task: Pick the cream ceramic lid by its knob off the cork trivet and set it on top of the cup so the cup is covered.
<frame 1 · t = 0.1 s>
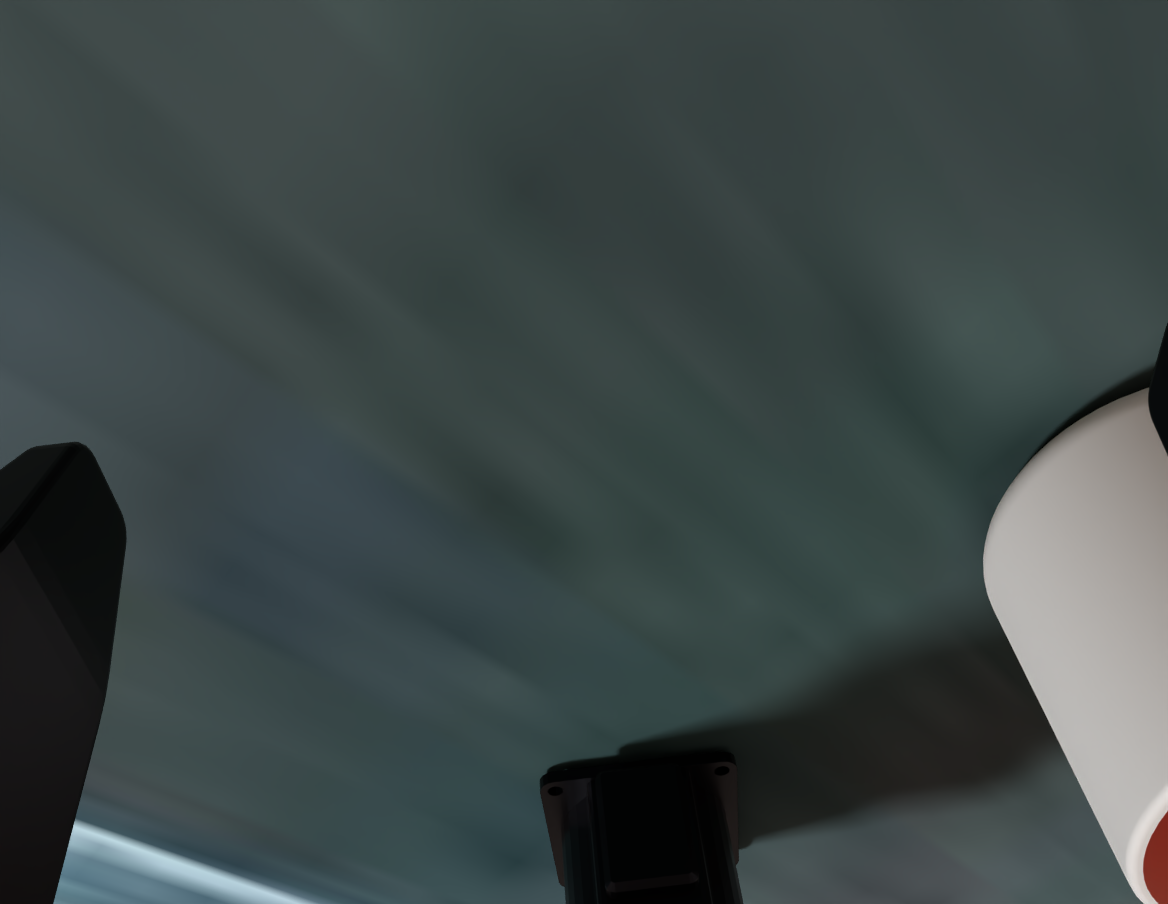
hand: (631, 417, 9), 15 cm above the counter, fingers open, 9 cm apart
cup: (1143, 496, 31), on the counter
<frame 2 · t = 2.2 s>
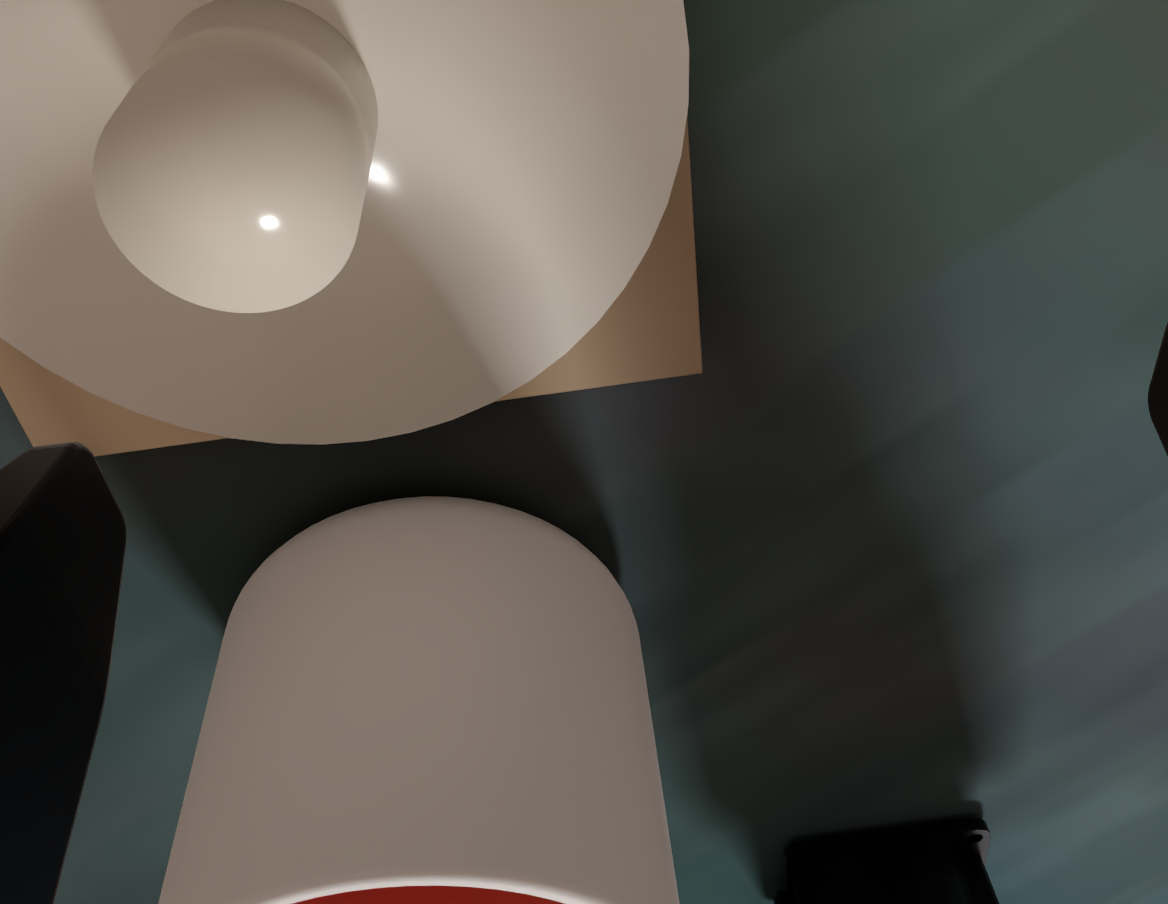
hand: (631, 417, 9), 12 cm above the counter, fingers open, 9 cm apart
trivet: (279, 79, 19), on the counter
cup: (438, 616, 28), on the counter
lid: (274, 91, 19), point 1 cm above the counter, touching trivet
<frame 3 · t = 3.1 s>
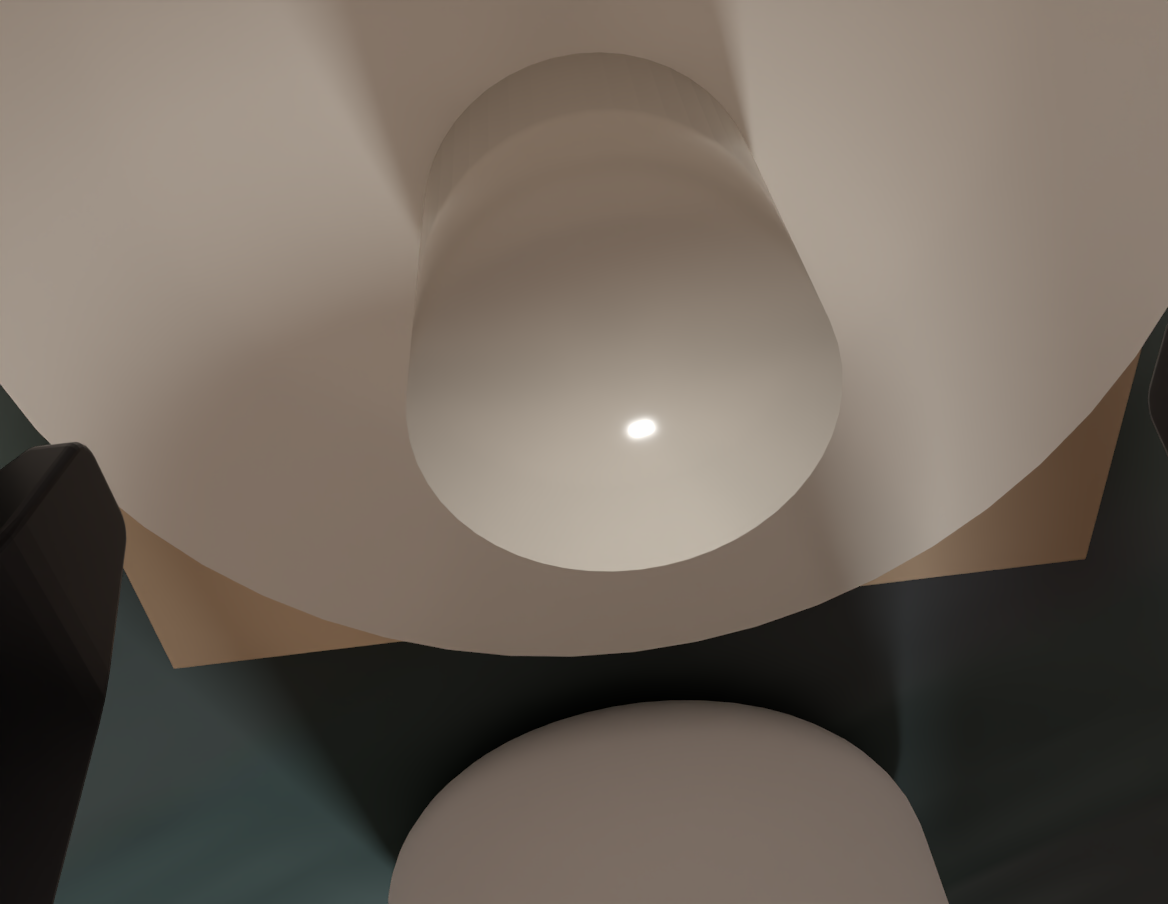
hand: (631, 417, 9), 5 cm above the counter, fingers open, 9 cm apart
trivet: (583, 167, 13), on the counter
cup: (649, 822, 22), on the counter
lid: (586, 188, 12), point 1 cm above the counter, touching trivet
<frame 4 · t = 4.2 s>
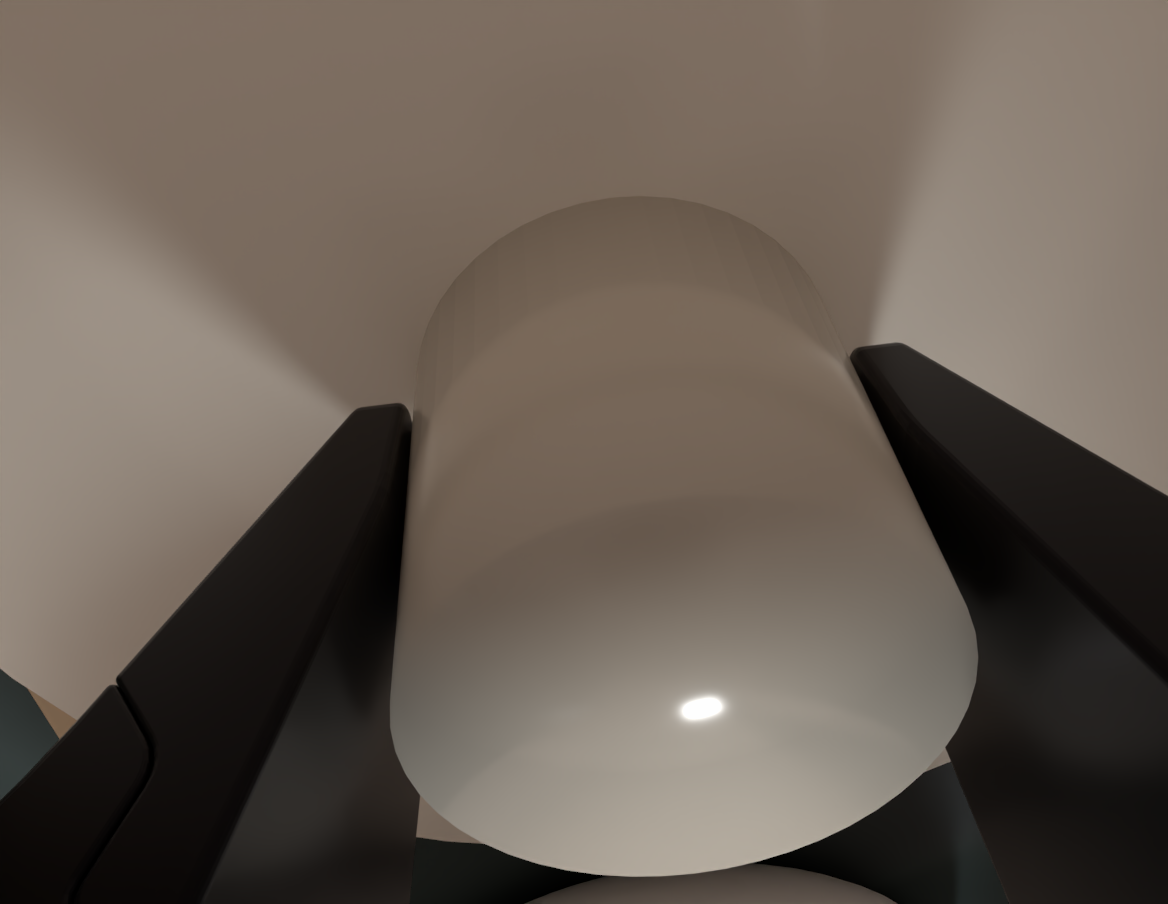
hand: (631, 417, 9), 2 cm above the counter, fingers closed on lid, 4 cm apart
trivet: (610, 305, 11), on the counter
lid: (617, 339, 10), point 1 cm above the counter, touching gripper, trivet
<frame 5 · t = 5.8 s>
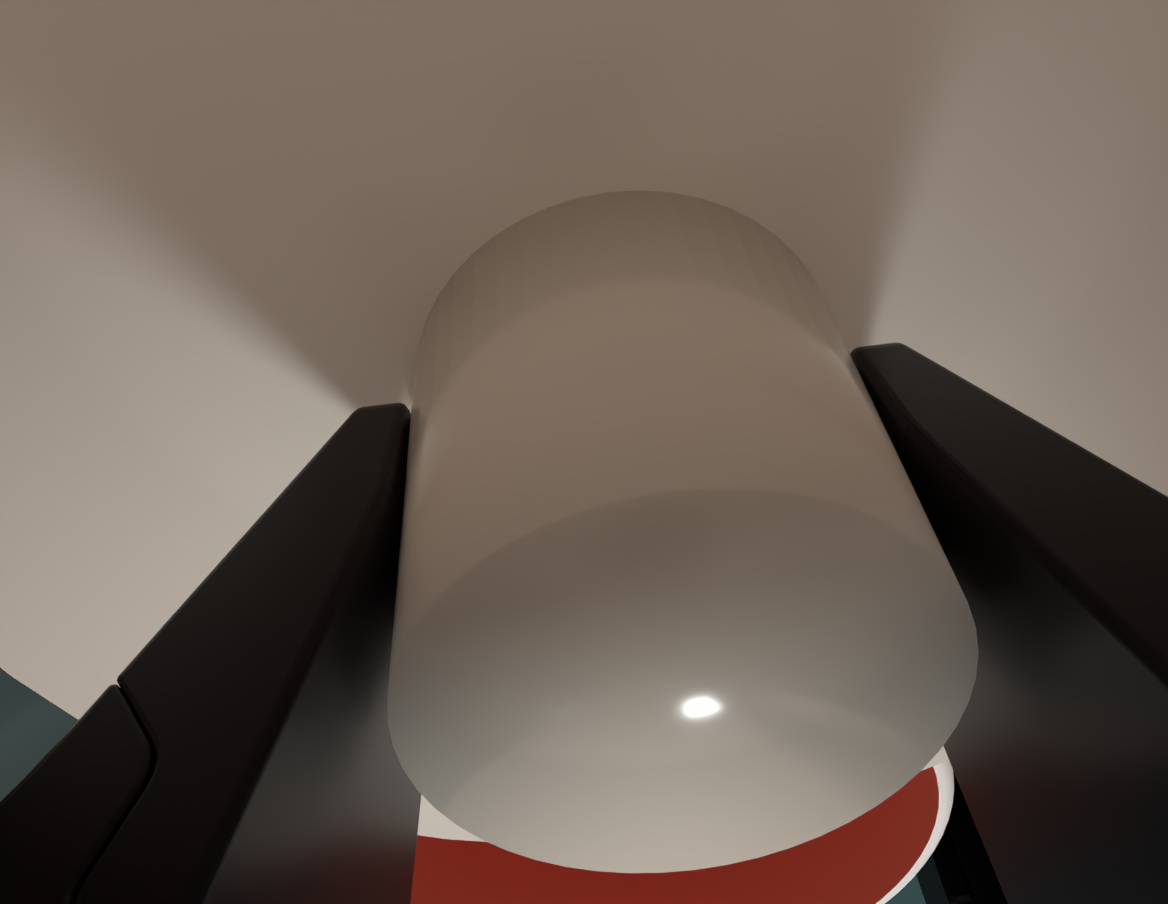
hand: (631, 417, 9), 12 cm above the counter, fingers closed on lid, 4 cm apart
cup: (596, 457, 26), on the counter
lid: (616, 335, 10), point 11 cm above the counter, touching gripper
when the fingers open (12 cm above the counter, at t = 7.3 s): lid drops 1 cm, resting on cup.
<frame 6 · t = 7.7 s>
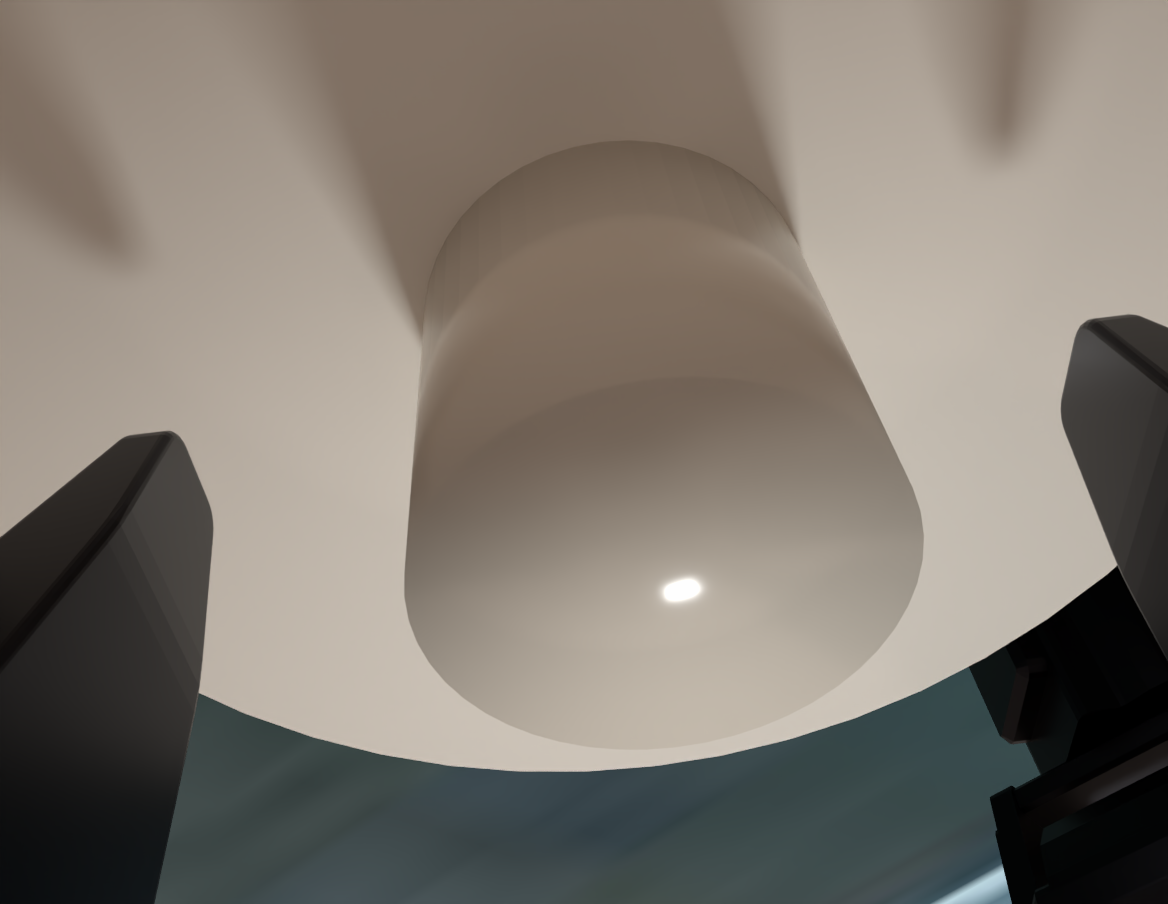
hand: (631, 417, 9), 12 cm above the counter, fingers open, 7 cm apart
lid: (609, 280, 11), point 10 cm above the counter, touching cup
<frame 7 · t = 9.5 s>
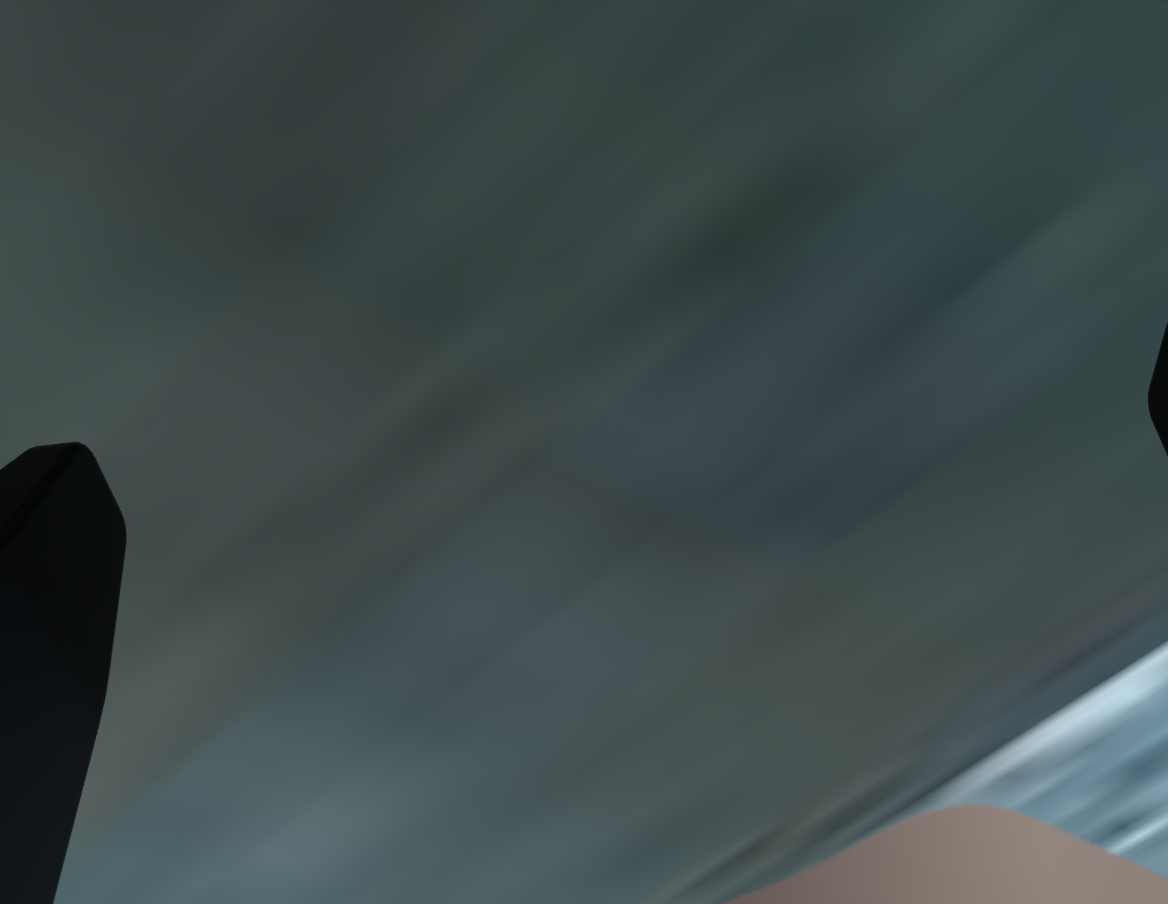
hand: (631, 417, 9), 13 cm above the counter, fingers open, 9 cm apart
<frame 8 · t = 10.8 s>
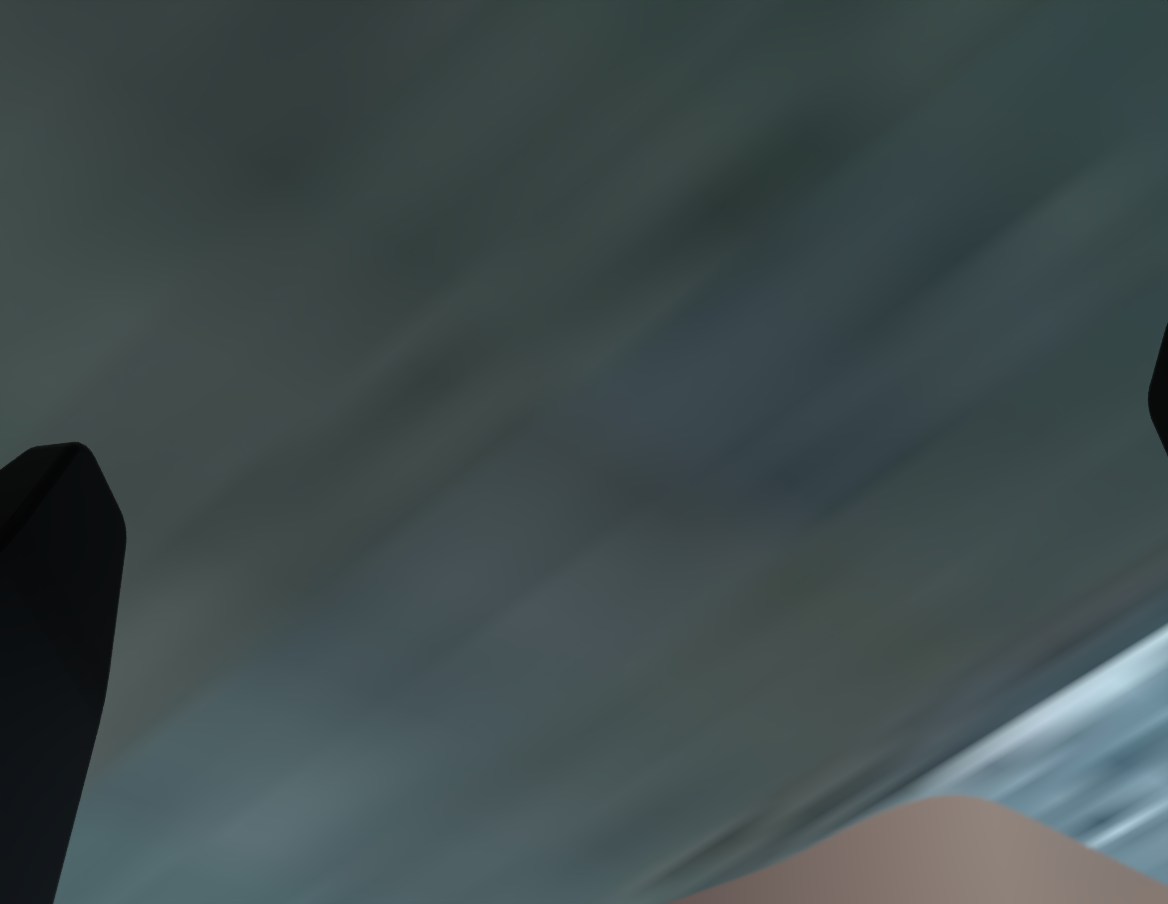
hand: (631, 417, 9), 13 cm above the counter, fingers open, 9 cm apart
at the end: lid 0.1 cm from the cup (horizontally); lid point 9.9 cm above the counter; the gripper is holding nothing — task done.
